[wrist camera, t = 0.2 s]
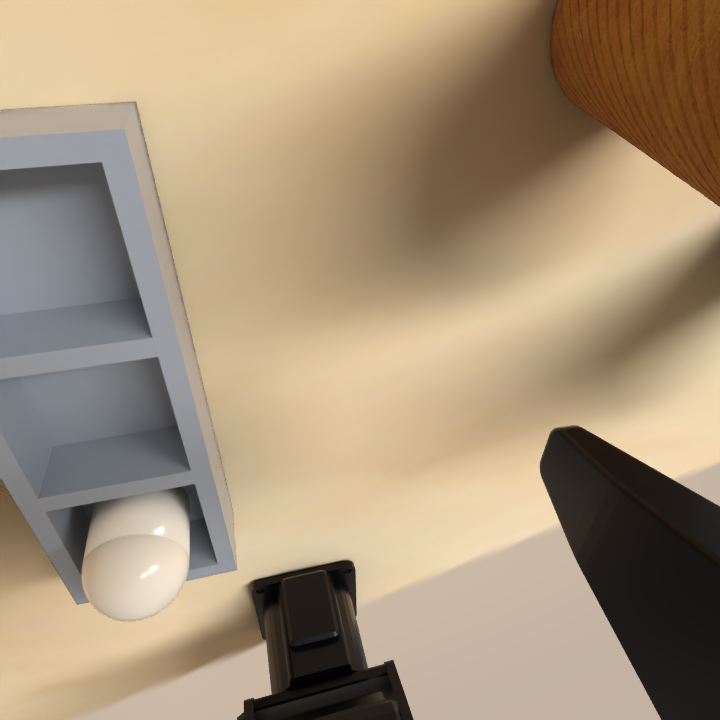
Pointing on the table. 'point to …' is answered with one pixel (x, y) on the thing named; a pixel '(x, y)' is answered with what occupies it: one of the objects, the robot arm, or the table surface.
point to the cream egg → (137, 553)
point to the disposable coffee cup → (648, 77)
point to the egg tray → (96, 339)
